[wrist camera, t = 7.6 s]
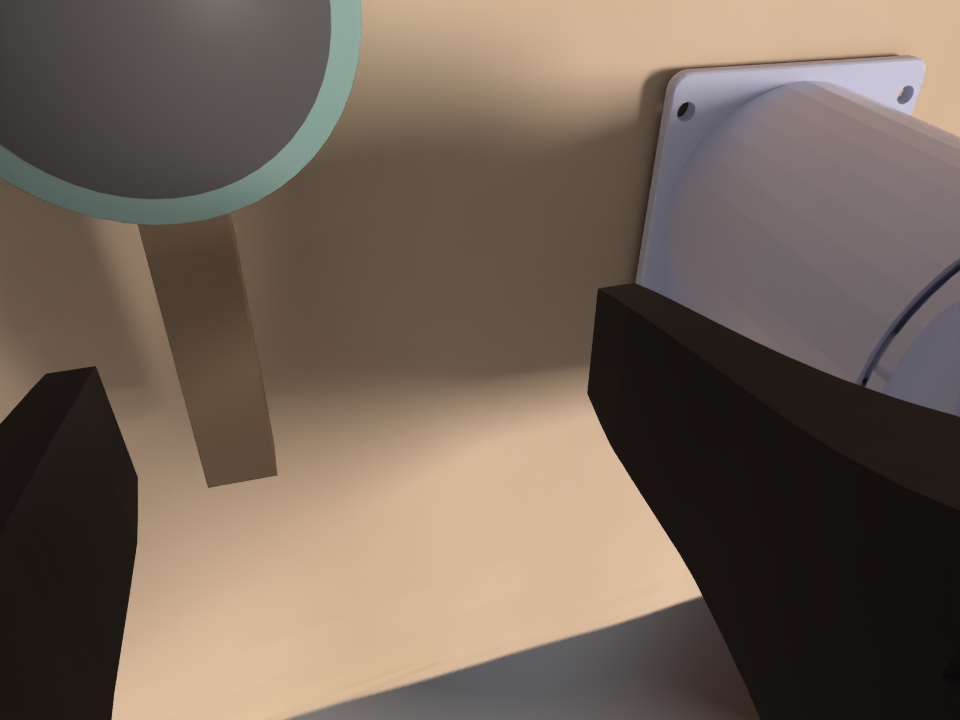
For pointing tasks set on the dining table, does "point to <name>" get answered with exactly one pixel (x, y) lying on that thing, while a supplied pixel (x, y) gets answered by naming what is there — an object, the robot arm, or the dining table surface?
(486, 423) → the dining table surface
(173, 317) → the pot
